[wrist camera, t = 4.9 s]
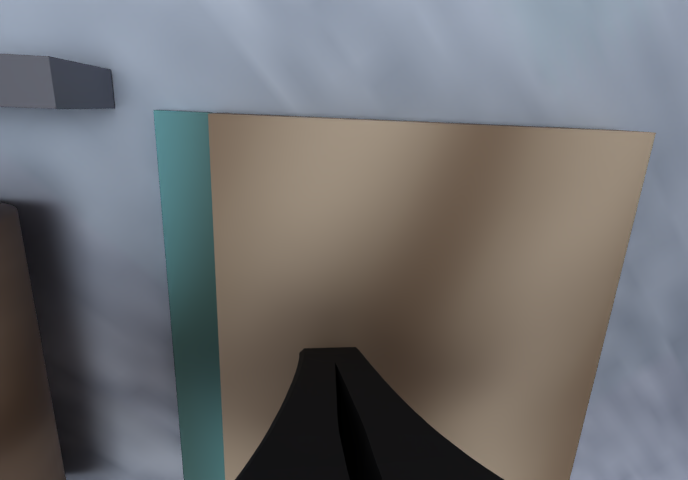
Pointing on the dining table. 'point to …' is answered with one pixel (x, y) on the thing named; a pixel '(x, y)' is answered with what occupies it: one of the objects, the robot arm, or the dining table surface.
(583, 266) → the tan flat square slab
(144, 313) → the dining table surface
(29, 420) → the roller
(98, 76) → the gray u-shaped frame
